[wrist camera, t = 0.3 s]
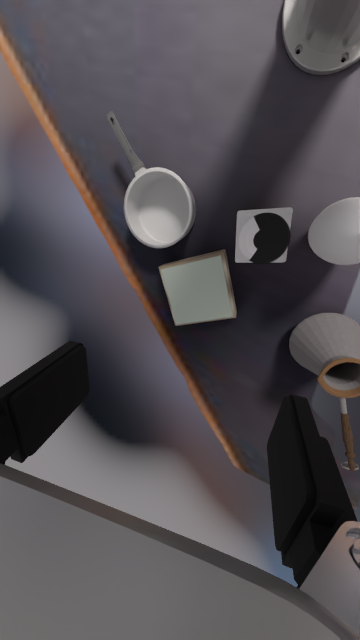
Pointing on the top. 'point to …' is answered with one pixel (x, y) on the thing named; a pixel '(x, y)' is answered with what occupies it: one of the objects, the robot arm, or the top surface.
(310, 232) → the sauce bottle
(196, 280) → the plinth
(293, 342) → the coffee pot
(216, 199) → the top surface
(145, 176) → the saucepan
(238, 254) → the medicine bottle
